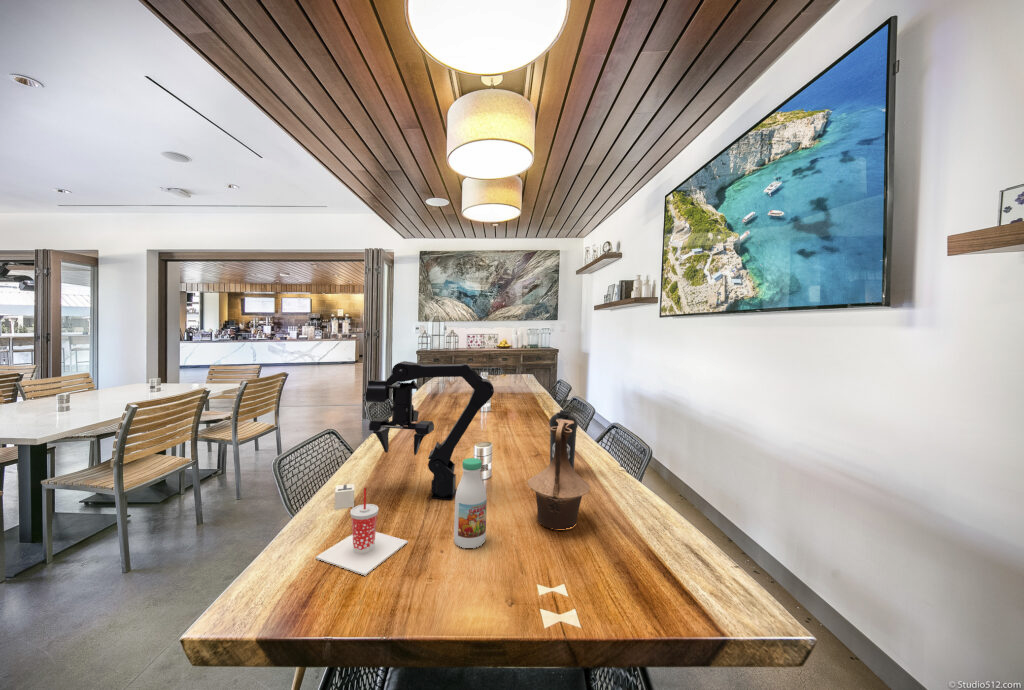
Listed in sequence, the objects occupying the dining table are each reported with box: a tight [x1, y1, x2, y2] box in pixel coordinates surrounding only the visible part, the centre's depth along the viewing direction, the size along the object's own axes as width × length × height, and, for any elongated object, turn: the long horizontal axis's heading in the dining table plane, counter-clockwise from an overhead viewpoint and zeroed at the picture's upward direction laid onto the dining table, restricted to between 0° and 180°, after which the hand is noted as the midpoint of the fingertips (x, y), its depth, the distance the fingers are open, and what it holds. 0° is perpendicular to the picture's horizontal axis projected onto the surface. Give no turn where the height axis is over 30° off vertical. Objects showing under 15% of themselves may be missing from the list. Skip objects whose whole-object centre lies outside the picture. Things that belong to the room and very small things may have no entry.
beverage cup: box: [350, 487, 379, 554], centre depth 89 cm, size 6×6×14 cm
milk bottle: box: [453, 457, 488, 549], centre depth 95 cm, size 8×8×20 cm
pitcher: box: [527, 419, 591, 529], centre depth 106 cm, size 18×17×28 cm
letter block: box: [334, 483, 355, 511], centre depth 112 cm, size 5×5×5 cm
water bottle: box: [548, 409, 579, 471], centre depth 141 cm, size 10×10×23 cm
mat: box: [315, 531, 409, 577], centre depth 89 cm, size 14×14×1 cm
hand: (401, 453), depth 119 cm, fingers open, 9 cm apart
